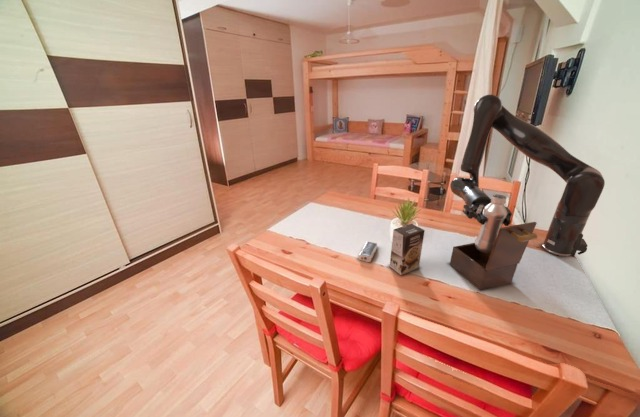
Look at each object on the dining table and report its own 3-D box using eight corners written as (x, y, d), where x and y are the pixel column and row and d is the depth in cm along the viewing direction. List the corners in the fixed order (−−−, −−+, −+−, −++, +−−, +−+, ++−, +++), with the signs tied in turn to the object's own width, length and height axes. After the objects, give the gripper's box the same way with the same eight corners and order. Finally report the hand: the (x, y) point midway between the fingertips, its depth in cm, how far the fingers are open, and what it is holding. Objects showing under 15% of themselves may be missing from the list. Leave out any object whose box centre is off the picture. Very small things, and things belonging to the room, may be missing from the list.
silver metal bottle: (499, 256, 86) (516, 201, 78) (476, 254, 87) (491, 200, 79) (491, 245, 92) (507, 193, 83) (470, 244, 93) (483, 192, 85)
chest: (449, 264, 98) (453, 246, 95) (477, 258, 101) (482, 241, 98) (480, 290, 86) (485, 270, 82) (511, 282, 88) (517, 263, 85)
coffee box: (401, 275, 93) (405, 237, 87) (389, 266, 99) (392, 228, 92) (419, 267, 97) (425, 230, 90) (407, 259, 102) (411, 222, 96)
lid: (499, 227, 75) (514, 236, 71) (534, 221, 78) (550, 229, 74) (484, 269, 82) (497, 279, 78) (517, 262, 85) (530, 271, 81)
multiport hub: (377, 248, 110) (377, 243, 109) (369, 262, 101) (370, 257, 100) (366, 245, 112) (367, 241, 111) (358, 259, 103) (359, 254, 102)
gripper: (458, 191, 97) (473, 210, 82) (501, 192, 94) (525, 213, 79) (454, 209, 100) (468, 231, 85) (496, 211, 97) (517, 234, 83)
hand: (495, 222), depth 82 cm, fingers closed on silver metal bottle, 6 cm apart
